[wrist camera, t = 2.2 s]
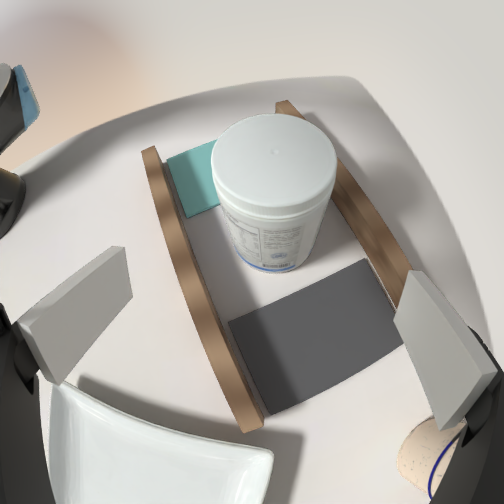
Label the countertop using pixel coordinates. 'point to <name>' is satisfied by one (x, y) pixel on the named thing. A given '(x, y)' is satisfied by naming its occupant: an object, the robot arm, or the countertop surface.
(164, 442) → the square plate
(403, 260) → the channel rails
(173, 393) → the countertop surface
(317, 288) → the trap mat
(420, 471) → the teacup with lid
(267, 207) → the supplement tub
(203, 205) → the pad
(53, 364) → the robot arm
